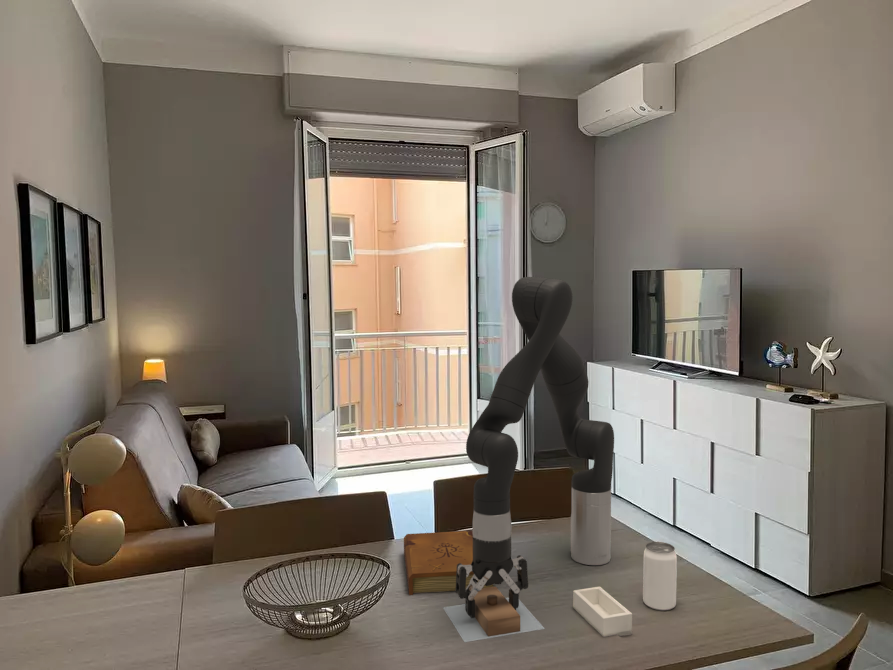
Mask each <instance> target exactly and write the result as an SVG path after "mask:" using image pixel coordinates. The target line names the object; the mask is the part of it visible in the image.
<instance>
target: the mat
mask: <svg viewBox="0 0 893 670" xmlns="http://www.w3.org/2000/svg"><path fill="white" fill-rule="evenodd" d="M505 598H506V599H507V601H508V602H509V596H508V597H505ZM442 609H443V610H444V612H445V613H446V615H447V616H448V619H449V620H450V621H451V624H452V625H453V626H454V628H455V630H456V631H457V633H458V634H459V636H460V637H461V640H462V641H463V642H464V643H469V642H475V641H481V640H486V639H493V638H498V637H503V636H504V637H505V636H511V635H517V634H522V633H528V632H533V631H534V632H535V631H540V630H545V629H546V628H545V627H544V626H543V625H542V623H541V622H540V621H539V620H538V619H537V618H536V616H534V615H533V613H531V611H530V610H529V609H528V607H526V605H525V604H524V603H523V602H522V600H520V599H519V606H518V608H516V611H517V613H518V614H519V615H520V631H519V632H513V633H507V634H501V635H495V636H489V637H488V635H487V634H486V633H485V631H484V630H483V628H482V627H481V625H480V624H479V623H478V621H477V620H476V618H471V617H470V616H468V614H467V613H466V610H465V603H462V604H456V605H450V606H443V607H442Z"/></svg>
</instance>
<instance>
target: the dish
mask: <svg viewBox="0 0 893 670" xmlns="http://www.w3.org/2000/svg"><path fill="white" fill-rule="evenodd" d="M572 595H573V596H572V608H573V609H574V610H575V611H576V612H577V613H578V615H580V616H581V617H582V618H583V619H584V620H585V621H586V622H587V623H589V625H590V626H592V627H593V628H594V630H595V631H597V632H598V634H599V635H600V636H601V637H603V638H606V637H611V636H619V637H624V636H625V637H626V636H630V635H631V636H632V635H633V613H632V612H631V611H629V609H627V608H626V607H625V606H624V605H623V604H621V603H620V602H619V601H618V600H617V599H615V598H614V597H613V596H612V595H610V593H608V591H606V590H604V588H602V587H601V586H594V587H588V588H581V589H575V590H572Z"/></svg>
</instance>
